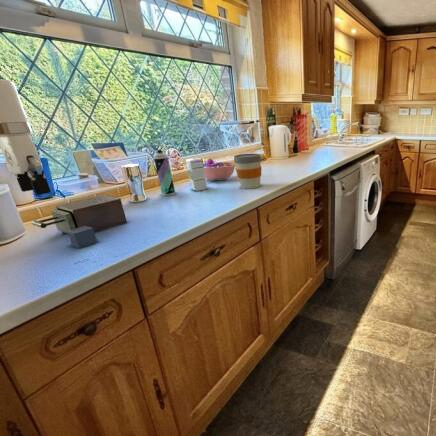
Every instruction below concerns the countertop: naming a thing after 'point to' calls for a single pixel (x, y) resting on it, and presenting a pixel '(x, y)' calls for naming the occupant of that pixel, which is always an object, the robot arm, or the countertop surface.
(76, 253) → the countertop surface
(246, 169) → the reusable coffee cup
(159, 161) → the spray can
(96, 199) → the cabinet
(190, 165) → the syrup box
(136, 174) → the beer glass
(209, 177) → the cell model
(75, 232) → the block
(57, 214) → the drawer
